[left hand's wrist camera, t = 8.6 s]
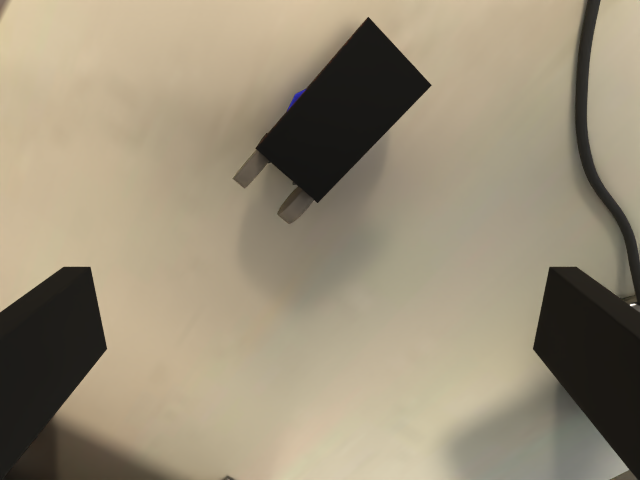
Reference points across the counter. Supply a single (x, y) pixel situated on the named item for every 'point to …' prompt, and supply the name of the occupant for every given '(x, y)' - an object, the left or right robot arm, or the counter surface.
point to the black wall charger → (337, 118)
